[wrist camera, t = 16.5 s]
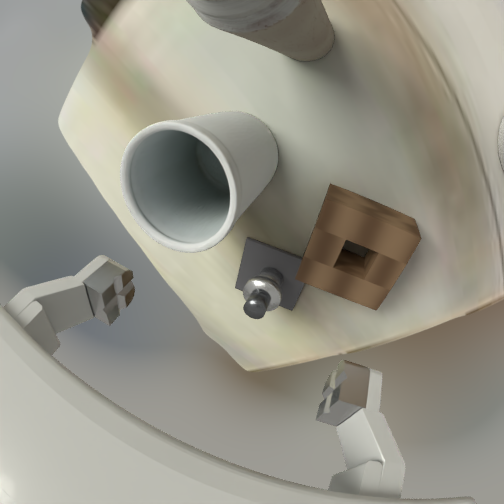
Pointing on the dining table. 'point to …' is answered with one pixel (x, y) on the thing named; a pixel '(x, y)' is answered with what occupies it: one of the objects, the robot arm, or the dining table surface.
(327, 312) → the dining table surface
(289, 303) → the mat
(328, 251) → the socket block
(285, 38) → the thermos bottle
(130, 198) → the utensil holder
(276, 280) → the end cover
